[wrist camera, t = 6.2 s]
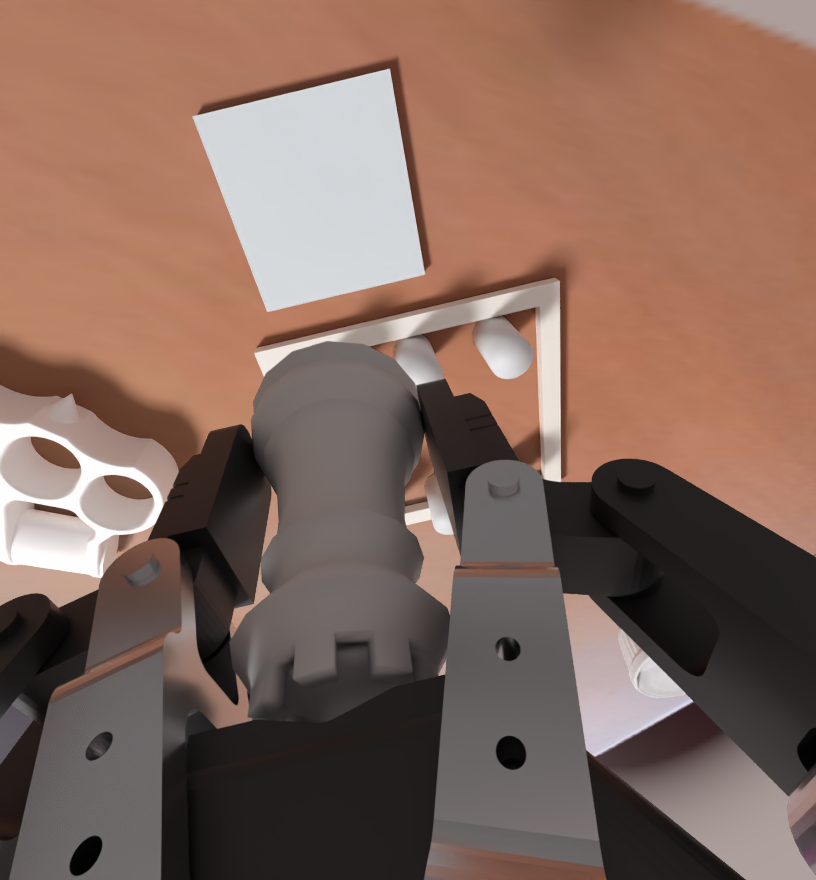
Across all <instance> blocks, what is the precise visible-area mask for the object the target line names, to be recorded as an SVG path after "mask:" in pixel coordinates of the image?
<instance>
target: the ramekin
mask: <svg viewBox="0 0 816 880" xmlns="http://www.w3.org/2000/svg"><path fill="white" fill-rule="evenodd" d="M618 642H619V645H620V648H621V651H622V653H623V656H624V659H625V661H626V664H627V667H628V669H629V676H630V679H631V681H632V683H633V685H634V687H635V688H636V689H637V690H638V691H639V692H640V693H642V694H644V695H646V696H650V697H657V698H667V697H677V696H682V695H686V693H685V692H684V691H683V690H682V689H681V688H680V687H679V686H678V685H677V684H676V683H675V682H674V681H673V680H672V679H671V678H670V677H669V676H668V675H667V674H666V673H665V672H664V671H663V670H662V669H661V668H660V667H659V666H658V665H657V664H656V663H655V662H654V661H653V660H652V659H651V658H650V657H649V656H648V655H647V654H646V653H645V652H644V651H643V650H642V649H641V648H640V647H639V646H638V645H637V644H636V643H635V642H634V641H633V640H632V639H631V638H630V637H629V636H628V635H627V634H626V633H625V632H624V631H623V630H622V629H621V628H620V630H619V635H618Z"/></svg>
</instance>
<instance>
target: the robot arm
mask: <svg viewBox="0 0 816 880" xmlns="http://www.w3.org/2000/svg"><path fill="white" fill-rule="evenodd" d="M416 388H417V394H418V400H419V405H420V410H421V414H422V419H423V424H424V428H425V437H426V442H427V446H428V451H429V455H430V458H431V462H432V465H433V468H434V471H435V475H436V478H437V481H438V484H439V488H440V491H441V494H442V497H443V501H444V504H445V507H446V510H447V514H448V517H449V520H450V523H451V526H452V530H453V533H454V536H455V539H456V543H457V546H458V549H459V552H460V556H461V562H460V566H456V567H455V570H454V575H453V586H452V598H451V611H450V623H449V636H448V648H447V661H446V673H445V675H441V676H437V677H433V678H428V679H424V680H420V681H416V682H412V683H407V684H403V685H399V686H395V687H392V688H391V689H389V690H387V691H385V692H383V693H381V694H379V695H377V696H375V697H374V698H372V699H370V700H368V701H366V702H364V703H362V704H360V705H359V706H357V707H355V708H353V709H351V710H349V711H347V712H345V713H343V714H342V715H340V716H338V717H336V718H334V719H332V720H330V721H327V722H323V723H311V722H292V721H274V720H252V718H247V717H248V710H249V703H248V697H247V690H246V687H245V686H244V684H243V683H242V681H241V680H240V678H239V677H238V675H237V674H236V672H235V671H234V669H233V667H232V659H231V651H230V643H229V642H230V640H231V639H232V637H233V635H234V634H235V632H236V628H235V626H234V625H233V623H232V622H231V620H232V615H233V611H234V608H238V607H242V606H247V605H251V604H254V599H255V593H256V587H257V581H258V574H259V568H260V562H261V556H262V550H263V544H264V538H265V532H266V526H267V519H268V513H269V507H270V501H271V485H270V483H269V481H268V480H267V478H266V476H265V475H264V473H263V471H262V469H261V468H260V466H259V464H258V462H257V461H256V459H255V456H254V452H253V446H252V439H251V437H250V434H249V432H248V430H247V429H246V428H245V426H244V425H242V424H240V425H236V426H231V427H227V428H223V429H218V430H214V431H211V432H210V433H209V435H208V437H207V439H206V442H205V444H204V447H203V449H202V452H201V454H198V455H194V456H193V457H192V458H191V459H190V460H189V461H188V462H187V463H186V464H185V465H184V466H183V467H182V468H181V469H180V470H179V472H178V475H177V477H176V479H175V481H174V483H173V488H172V489H171V490H170V492H169V495H168V497H167V501H166V502H165V503H164V506H163V508H162V510H161V512H160V514H159V517H158V519H157V521H156V523H155V526H154V528H153V530H152V532H151V534H150V537H149V539H148V541H146V542H143V543H141V544H138V545H136V546H134V547H133V548H131V549H129V550H128V551H126V552H125V553H123V554H122V555H121V556H119V557H118V558H117V559H116V560H115V561H114V562H113V563H112V564H111V565H110V566H109V567H108V569H107V570H106V571H105V573H104V574H103V576H102V578H101V581H100V584H99V589H98V590H96V591H94V592H92V593H90V594H88V595H86V596H83V597H81V598H79V599H77V600H75V601H73V602H70V603H68V604H66V605H64V606H62V607H60V608H58V607H57V606H56V605H55V604H54V603H53V602H52V601H51V600H50V599H49V598H48V597H47V596H45V595H43V594H28V595H24V596H21V597H18V598H15V599H13V600H11V601H9V602H7V603H5V604H3V605H1V606H0V718H1V717H2V716H3V715H4V713H5V712H6V711H7V709H8V708H9V707H10V706H11V705H13V706H14V707H16V708H17V709H18V710H20V711H22V712H23V713H24V714H26V715H27V716H29V717H30V718H32V719H33V722H32V723H31V725H30V726H29V727H28V728H27V730H26V731H25V732H24V734H23V735H22V736H21V738H20V739H19V740H18V742H17V743H16V745H15V746H14V747H13V749H12V750H11V751H10V753H9V754H8V755H7V757H6V758H5V759H4V761H3V762H2V763H1V765H0V880H745V879H744V878H743V877H742V876H740V875H739V874H738V873H737V872H736V871H734V870H733V869H732V868H731V867H729V866H728V865H727V864H726V863H725V862H723V861H722V860H721V859H720V858H718V857H717V856H716V855H715V854H714V853H712V852H711V851H710V850H709V849H707V848H706V847H705V846H704V845H702V844H701V843H700V842H699V841H697V840H696V839H695V838H694V837H692V836H691V835H690V834H689V833H688V832H686V831H685V830H684V829H683V828H681V827H680V826H679V825H678V824H676V823H675V822H674V821H673V820H672V819H670V818H669V817H668V816H667V815H665V814H664V813H663V812H662V811H660V810H659V809H658V808H657V807H656V806H654V805H653V804H652V803H651V802H649V801H648V800H647V799H646V798H645V797H643V796H642V795H641V794H640V793H638V792H637V791H636V790H635V789H633V788H632V787H631V786H630V785H628V784H627V783H626V782H624V780H622V779H621V778H619V776H617V775H616V774H615V773H614V772H613V771H611V770H610V769H609V768H608V767H606V766H605V765H604V764H602V763H601V762H600V761H599V760H598V759H596V758H595V757H594V756H593V755H592V754H590V753H589V752H588V751H587V750H586V747H585V740H584V733H583V727H582V720H581V713H580V706H579V699H578V692H577V686H576V679H575V672H574V665H573V658H572V652H571V645H570V638H569V631H568V624H567V617H566V611H565V604H564V597H563V593H567V594H582V595H589V596H590V598H591V599H592V600H593V601H594V602H595V603H596V604H597V605H598V606H599V607H600V608H601V609H602V610H603V611H604V612H605V613H606V614H607V615H608V616H609V617H610V618H611V619H612V620H613V621H614V622H615V623H616V624H617V625H618V626H619V627H620V628H621V629H622V630H623V631H624V632H625V633H626V634H627V635H628V636H629V637H630V638H631V639H632V640H633V641H634V642H635V643H636V644H637V645H638V646H639V647H640V648H641V649H642V650H643V651H644V652H645V653H646V654H647V655H648V656H649V657H650V658H651V659H652V660H653V661H654V662H655V663H656V664H657V665H658V666H659V667H660V668H661V669H662V670H663V671H664V672H665V673H666V674H667V675H668V676H669V677H670V678H671V679H672V680H673V681H674V682H675V683H676V684H677V685H678V686H679V687H680V688H681V689H682V690H683V691H684V692H685V693H686V694H687V695H688V696H689V697H690V698H691V699H692V700H693V701H694V702H695V703H696V704H697V705H698V706H699V707H700V708H701V709H702V710H703V711H704V712H705V713H706V714H707V715H708V716H709V717H710V718H711V719H712V720H713V721H714V722H715V723H716V724H717V725H718V726H719V727H720V728H721V729H722V730H723V731H724V732H725V733H726V734H727V735H728V736H729V737H730V738H731V739H732V740H733V741H734V742H735V743H736V744H737V745H738V746H739V747H740V748H741V749H742V750H743V751H744V752H745V753H746V754H747V755H748V756H749V757H750V758H751V759H752V760H753V761H754V762H755V763H756V764H757V765H758V766H759V767H760V768H761V769H762V770H763V771H764V772H765V773H766V774H767V775H768V776H769V777H770V778H771V779H772V780H773V781H774V782H775V783H776V784H777V785H778V786H779V787H780V788H781V789H782V790H783V791H784V792H785V793H786V794H787V795H788V796H789V800H788V806H787V807H788V820H789V825H790V829H791V832H792V834H793V838H794V841H795V843H796V844H797V846H798V848H799V851H800V853H801V855H802V856H803V858H804V859H805V861H806V862H807V864H808V865H809V867H810V868H811V870H812V871H813V872H814V873H815V875H816V557H815V556H813V555H811V554H810V553H808V552H806V551H805V550H803V549H801V548H800V547H798V546H796V545H795V544H793V543H791V542H789V541H788V540H786V539H784V538H783V537H781V536H779V535H778V534H776V533H774V532H773V531H771V530H769V529H767V528H766V527H764V526H762V525H761V524H759V523H757V522H756V521H754V520H752V519H751V518H749V517H747V516H745V515H744V514H742V513H740V512H739V511H737V510H735V509H734V508H732V507H730V506H729V505H727V504H725V503H724V502H722V501H720V500H718V499H717V498H715V497H713V496H712V495H710V494H708V493H707V492H705V491H703V490H702V489H700V488H698V487H696V486H695V485H693V484H691V483H690V482H688V481H686V480H685V479H683V478H681V477H680V476H678V475H676V474H674V473H673V472H671V471H669V470H668V469H666V468H664V467H662V466H660V465H658V464H655V463H653V462H649V461H645V460H639V459H619V460H614V461H610V462H607V463H605V464H603V465H602V466H600V467H599V468H598V469H597V470H596V471H595V472H594V474H593V476H592V482H556V481H550V480H546V479H542V477H541V476H540V474H539V473H538V472H537V470H535V469H534V468H533V467H531V466H530V465H528V464H525V463H523V462H519V460H518V458H517V457H516V455H515V453H514V451H513V450H512V448H511V446H510V445H509V443H508V441H507V439H506V438H505V436H504V434H503V433H502V431H501V429H500V427H499V426H498V425H497V422H496V420H495V419H494V417H493V416H492V414H491V412H490V410H489V408H488V407H487V405H486V403H485V401H483V400H481V399H479V398H478V397H476V396H474V395H473V394H471V393H468V394H464V395H459V396H455V397H454V396H453V394H452V392H451V389H450V387H449V385H448V383H447V381H446V379H441V380H436V381H432V382H427V383H423V384H419V385H416Z"/></svg>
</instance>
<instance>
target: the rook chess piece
mask: <svg viewBox="0 0 816 880" xmlns="http://www.w3.org/2000/svg"><path fill="white" fill-rule="evenodd" d="M253 406H254V415H253V417H252V419H251V428H252V446H253V452H254V456H255V459H256V461H257V462H258V464H259V466H260V468H261V469H262V471H263V473H264V475H265V476H266V478H267V480H268V481H269V483H270V484H271V486H272V487H273V489H274V491H275V493H276V494H277V499H278V516H279V524H278V531H277V535H276V536H274V537H273V539H272V541H271V542H270V544H269V546H268V548H267V549H266V551H265V553H264V555H263V556H262V558H261V574H262V582H263V584H264V585H265V587H266V588H267V589H268V591H269V592H270V595H268V596H267V597H266V598H265V599H264V600H262V601H261V602H260V603H259V604H258V605H257V606H255V607H254V608H253V609H252V610H251V611H249V612H248V613H247V614H246V615H245V617H244V618H243V620H242V622H241V624H240V625H239V627H238V629H237V630H236V632H235V634H234V635H233V637H232V639H231V640H230V642H229V643H230V651H231V659H232V667H233V669H234V671H235V672H236V674H237V675H238V677H239V678H240V680H241V681H242V683H243V684H244V686H245V687H246V689H247V690H248V691H249V693H250V694H251V696H250V703H249V710H248V717H247V718H252V720H274V721H292V722H311V723H323V722H327V721H330V720H332V719H334V718H336V717H338V716H340V715H342V714H343V713H345V712H347V711H349V710H351V709H353V708H355V707H357V706H359V705H360V704H362V703H364V702H366V701H368V700H370V699H372V698H374V697H375V696H377V695H379V694H381V693H383V692H385V691H387V690H389V689H391V688H392V687H395V686H399V685H403V684H407V683H412V682H416V681H420V680H424V679H428V678H433V677H437V676H438V674H439V672H440V670H441V668H442V666H443V664H444V662H445V661H446V659H447V648H448V636H449V623H450V615H449V612H448V609H447V607H445V606H444V605H443V604H442V603H440V602H439V601H438V600H436V599H435V598H434V597H432V596H431V595H430V594H429V593H427V592H426V591H425V590H423V589H422V588H421V587H419V586H418V585H417V584H415V583H416V582H417V581H418V579H419V577H420V573H421V568H422V564H423V560H424V556H423V554H422V551H421V548H420V545H419V542H418V540H417V537H416V536H415V535H414V534H412V533H411V532H410V531H409V530H408V529H407V528H406V523H405V486H406V485H407V483H408V482H409V480H410V479H411V476H412V472H413V471H414V469H415V468H416V466H417V465H418V464H419V460H420V454H421V449H422V444H423V439H424V433H425V428H424V424H423V419H422V414H421V410H420V405H419V400H418V394H417V389H416V385H415V383H414V381H413V380H412V379H411V378H410V377H409V376H408V374H407V373H406V372H405V371H404V370H403V369H402V367H401V366H400V365H399V364H398V363H397V362H396V360H395V359H393V358H391V357H389V356H387V355H385V354H383V353H381V352H379V351H377V350H375V349H373V348H371V347H369V346H367V345H365V344H358V343H346V342H333V341H325V342H322V343H319V344H315V345H312V346H309V347H305V348H302V349H299V350H295V351H292V352H291V353H290V354H288V355H287V356H286V357H285V358H284V359H282V360H281V361H280V362H279V363H278V364H276V365H275V366H274V367H273V368H272V369H270V370H269V371H268V372H267V373H266V374H265V377H264V379H263V381H262V383H261V385H260V388H259V390H258V392H257V394H256V396H255V399H254V401H253Z"/></svg>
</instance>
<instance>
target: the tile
mask: <svg viewBox="0 0 816 880" xmlns="http://www.w3.org/2000/svg"><path fill="white" fill-rule="evenodd" d="M193 119H194V121H195V124H196V127H197V129H198V132H199V134H200V137H201V140H202V142H203V145H204V148H205V150H206V153H207V155H208V158H209V161H210V163H211V166H212V168H213V171H214V174H215V176H216V179H217V182H218V184H219V187H220V189H221V192H222V195H223V197H224V200H225V202H226V205H227V208H228V210H229V213H230V216H231V218H232V221H233V223H234V226H235V229H236V231H237V234H238V236H239V239H240V242H241V244H242V247H243V250H244V252H245V255H246V257H247V260H248V263H249V265H250V268H251V270H252V273H253V276H254V278H255V281H256V284H257V286H258V289H259V291H260V294H261V297H262V299H263V302H264V305H265V307H266V310H267V312H269V311H274V310H278V309H282V308H286V307H290V306H295V305H299V304H303V303H307V302H312V301H316V300H320V299H324V298H328V297H333V296H337V295H341V294H345V293H350V292H354V291H358V290H362V289H366V288H371V287H375V286H379V285H383V284H387V283H392V282H396V281H400V280H404V279H409V278H413V277H417V276H421V275H425V271H424V266H423V260H422V254H421V248H420V242H419V236H418V231H417V225H416V219H415V213H414V207H413V201H412V195H411V190H410V184H409V178H408V172H407V166H406V160H405V155H404V149H403V143H402V137H401V131H400V125H399V119H398V114H397V108H396V102H395V96H394V90H393V84H392V79H391V73H390V69H386V70H382V71H378V72H374V73H370V74H366V75H361V76H357V77H353V78H349V79H345V80H341V81H337V82H333V83H328V84H324V85H320V86H316V87H312V88H308V89H304V90H300V91H295V92H291V93H287V94H283V95H279V96H275V97H271V98H267V99H263V100H258V101H254V102H250V103H246V104H242V105H238V106H234V107H230V108H225V109H221V110H217V111H213V112H209V113H205V114H201V115H197V116H193Z"/></svg>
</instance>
